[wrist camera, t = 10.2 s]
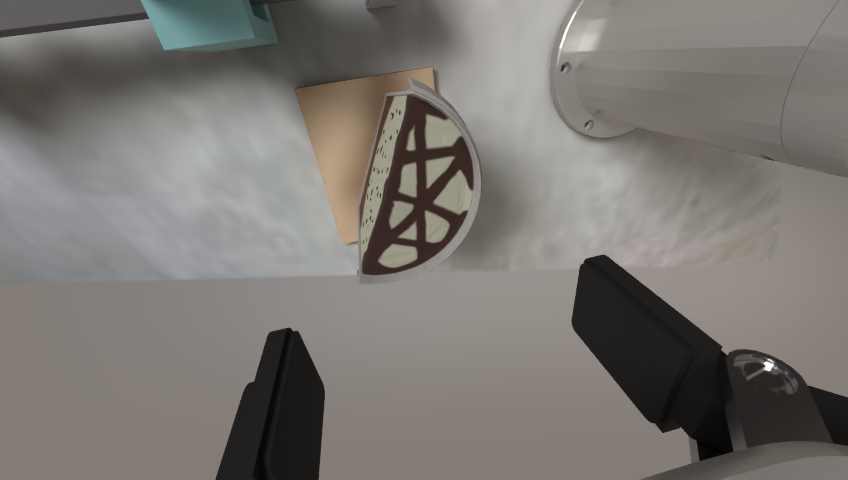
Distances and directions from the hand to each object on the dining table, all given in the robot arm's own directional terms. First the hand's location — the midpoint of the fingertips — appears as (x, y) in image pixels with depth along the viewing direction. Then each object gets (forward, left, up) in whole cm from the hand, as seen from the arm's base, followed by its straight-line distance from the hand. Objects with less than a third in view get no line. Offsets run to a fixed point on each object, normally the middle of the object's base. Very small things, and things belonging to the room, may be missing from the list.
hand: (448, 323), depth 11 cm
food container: (-2, 0, -19) cm, 19 cm away
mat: (0, 0, -19) cm, 19 cm away
